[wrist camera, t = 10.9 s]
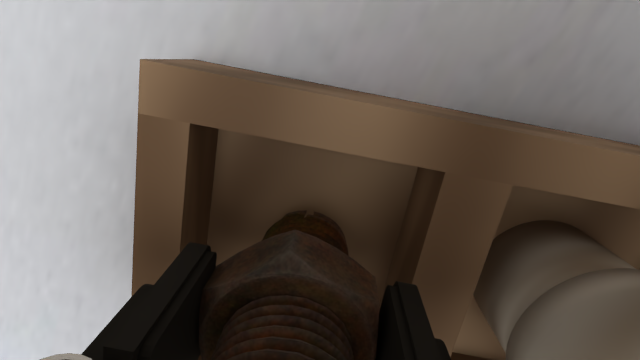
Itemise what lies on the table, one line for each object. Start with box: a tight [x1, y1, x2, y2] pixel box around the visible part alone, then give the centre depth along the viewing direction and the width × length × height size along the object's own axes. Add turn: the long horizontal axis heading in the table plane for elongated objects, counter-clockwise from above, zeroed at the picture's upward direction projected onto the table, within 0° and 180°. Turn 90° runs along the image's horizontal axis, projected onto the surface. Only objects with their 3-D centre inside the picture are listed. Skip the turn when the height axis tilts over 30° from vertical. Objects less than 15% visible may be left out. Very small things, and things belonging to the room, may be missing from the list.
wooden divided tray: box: [132, 59, 640, 360], centre depth 13 cm, size 20×12×6 cm, turn 80°
